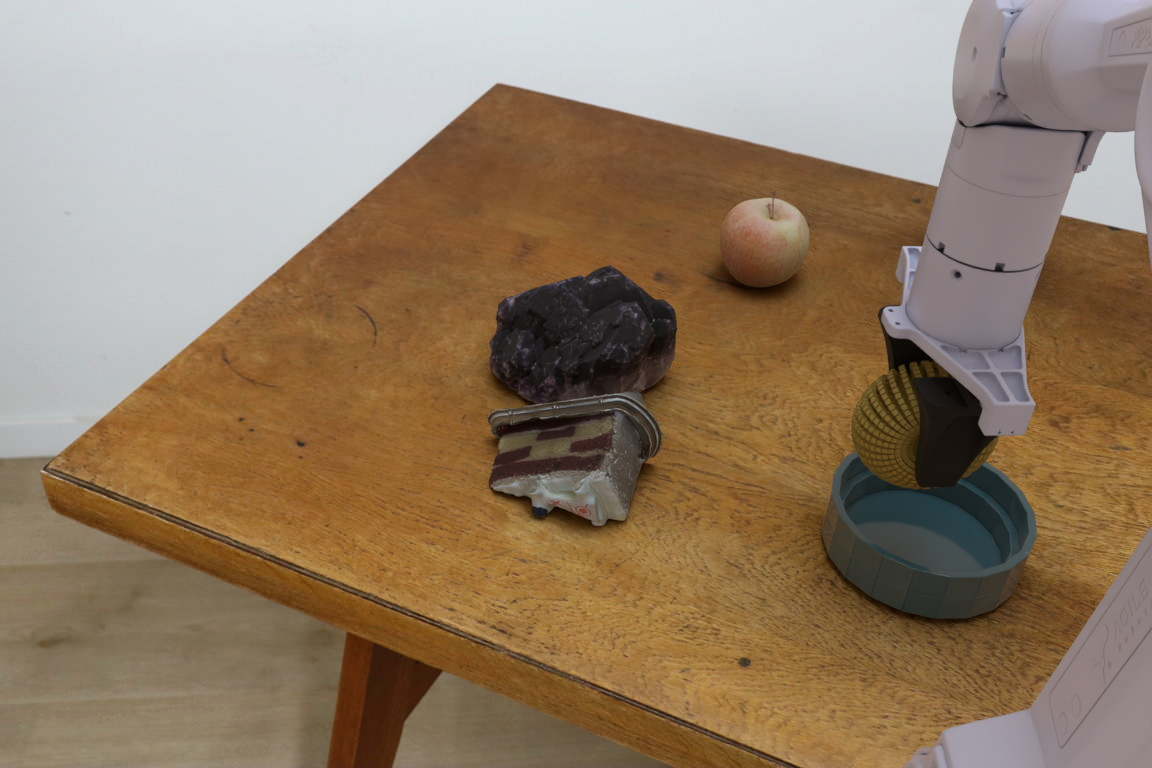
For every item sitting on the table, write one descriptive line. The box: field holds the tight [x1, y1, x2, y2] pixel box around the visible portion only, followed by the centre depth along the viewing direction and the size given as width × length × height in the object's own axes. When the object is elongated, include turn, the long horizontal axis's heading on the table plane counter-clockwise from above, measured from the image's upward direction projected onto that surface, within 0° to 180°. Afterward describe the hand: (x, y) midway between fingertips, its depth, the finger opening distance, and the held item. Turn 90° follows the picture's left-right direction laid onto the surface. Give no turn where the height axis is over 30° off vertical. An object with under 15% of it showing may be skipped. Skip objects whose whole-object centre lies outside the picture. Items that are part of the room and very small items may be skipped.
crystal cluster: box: [489, 264, 678, 404], centre depth 80 cm, size 13×14×10 cm
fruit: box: [719, 190, 811, 288], centre depth 92 cm, size 8×7×8 cm
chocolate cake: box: [486, 391, 664, 527], centre depth 71 cm, size 10×7×12 cm
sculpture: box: [850, 361, 1000, 489], centre depth 61 cm, size 8×4×8 cm, turn 87°
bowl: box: [821, 450, 1038, 620], centre depth 68 cm, size 12×12×4 cm
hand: (920, 453), depth 63 cm, fingers closed on sculpture, 4 cm apart
